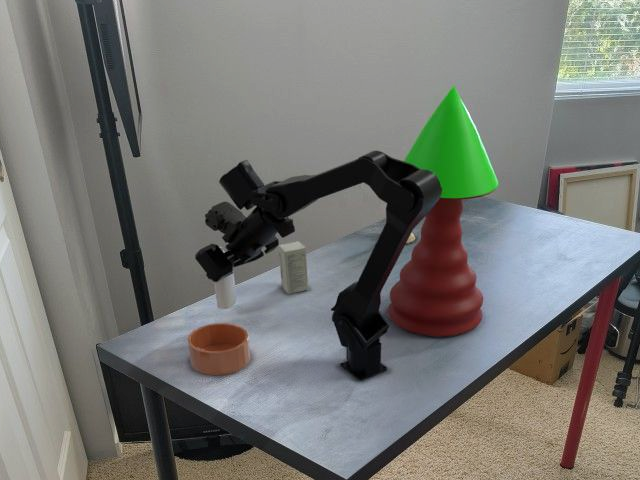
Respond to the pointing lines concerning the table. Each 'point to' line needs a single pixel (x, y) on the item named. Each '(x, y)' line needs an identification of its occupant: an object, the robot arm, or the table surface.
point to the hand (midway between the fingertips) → (218, 271)
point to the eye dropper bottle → (225, 291)
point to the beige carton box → (293, 267)
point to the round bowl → (219, 348)
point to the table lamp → (444, 228)
